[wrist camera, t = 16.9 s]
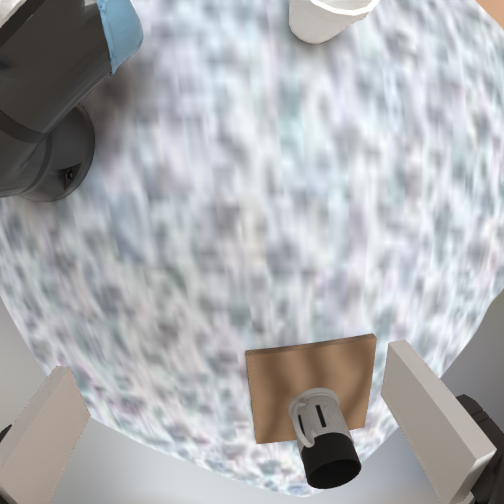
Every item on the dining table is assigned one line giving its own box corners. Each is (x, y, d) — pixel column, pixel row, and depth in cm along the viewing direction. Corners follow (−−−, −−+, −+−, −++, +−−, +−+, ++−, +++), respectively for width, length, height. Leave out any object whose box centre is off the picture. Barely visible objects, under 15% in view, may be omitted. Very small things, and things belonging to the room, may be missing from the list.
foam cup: (340, 61, 37) (377, 27, 24) (272, 45, 36) (287, 1, 24) (346, 8, 35) (380, -35, 22) (283, -8, 34) (299, -59, 21)
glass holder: (303, 431, 50) (319, 497, 36) (259, 385, 47) (267, 457, 33) (347, 408, 50) (374, 471, 35) (308, 356, 46) (333, 425, 32)
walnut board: (256, 438, 52) (256, 444, 51) (245, 350, 47) (246, 356, 46) (361, 421, 53) (364, 426, 51) (373, 333, 47) (376, 338, 46)
